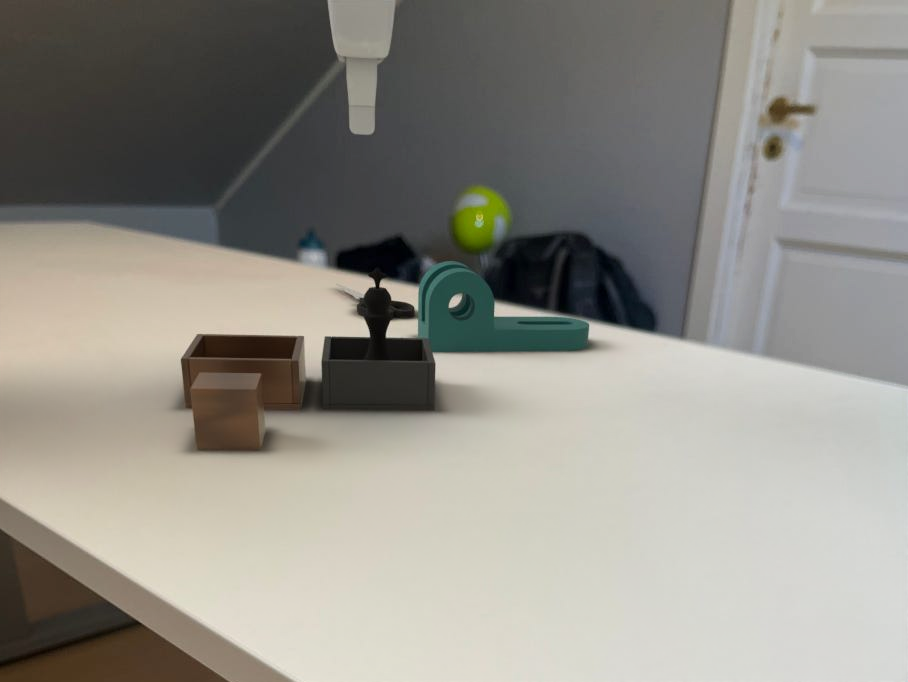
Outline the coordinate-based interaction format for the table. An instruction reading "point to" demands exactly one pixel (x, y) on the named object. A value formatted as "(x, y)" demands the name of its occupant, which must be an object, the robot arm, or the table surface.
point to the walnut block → (228, 411)
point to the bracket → (485, 318)
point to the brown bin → (251, 364)
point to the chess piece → (377, 317)
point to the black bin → (378, 375)
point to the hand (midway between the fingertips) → (361, 132)
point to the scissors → (393, 308)
